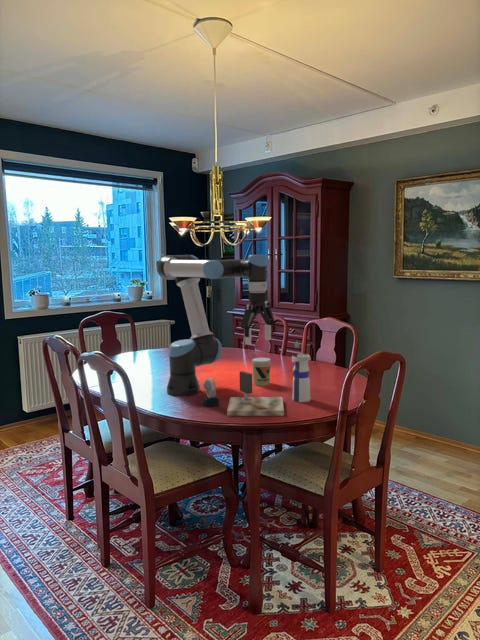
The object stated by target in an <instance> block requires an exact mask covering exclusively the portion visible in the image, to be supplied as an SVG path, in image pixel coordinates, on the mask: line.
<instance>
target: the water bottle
mask: <svg viewBox="0 0 480 640" xmlns="http://www.w3.org/2000/svg"><path fill="white" fill-rule="evenodd" d="M293 345H294V346H295V347H294V349H297V348H300V345H301V342H298V340H296V342H295V343H293ZM311 360H312V358H311V355H309V354H306V353H297V356H294V355H292V356H291V363H294V366H293V368H292V376H293V379H292V401H294V402H298V403H307V402H310V401H311V385H310V384H311V383H310V382H311V381H310V376H309V374H310V373H309V371H310V367H309V361H311Z"/></svg>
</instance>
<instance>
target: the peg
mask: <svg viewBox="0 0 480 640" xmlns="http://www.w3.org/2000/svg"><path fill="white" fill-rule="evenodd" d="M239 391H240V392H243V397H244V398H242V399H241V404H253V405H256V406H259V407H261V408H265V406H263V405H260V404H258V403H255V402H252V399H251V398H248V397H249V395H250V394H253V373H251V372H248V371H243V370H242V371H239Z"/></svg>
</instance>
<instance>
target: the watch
mask: <svg viewBox="0 0 480 640" xmlns="http://www.w3.org/2000/svg"><path fill="white" fill-rule="evenodd" d="M202 386H203V388H204V390H205V394H206V396H203V398H202V402H203V406H205V408H209V407H217V406H220V398H219V396H217V389H216V381H215V379H214V378H207V379H205V380H204V381H203V383H202Z"/></svg>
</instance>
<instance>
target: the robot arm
mask: <svg viewBox="0 0 480 640" xmlns="http://www.w3.org/2000/svg"><path fill="white" fill-rule="evenodd" d="M267 267H268V264H267V255H265V254H250V255H248V257H247V259H238V258H237V259H236V258H235V259H200V258H198V257H197V256H195V255H193V254H177V255H176V254H175V255H173V254H172V255H164V256H162V257H161V258H159V260H158V261H157V263H156V271H157V274H158V275H159V276H160V277H161V278H162V279H164V280H168V281H170V280H172V281H173V280H175V284H176V286H177V287H179V288H180V291H181V295H182V300H183V302H184V308H185V311H186V315H187V320H188V324H189V327H190V328H189V329H190V332H191V337H190V338H189V339H185V338H184V339H178V340H176V341H173V342H172V343H170V345H169V350H168V355H169V378H168V383H167V386H166V392H167V394H168V395H170V396H177V397H178V396H179V397H180V396H181V397H183V396H184V397H185V396H191V395H195V394H198V393H199V392H200V391H201V386H200V383H199V380H198V378H197V374H196V372H197V371H196V368H197V367H200V366H204V365H211V364H212V363H216V362H218V361H219V359H220V358H221V356H222V354H223V346H222V343H221V341H220V340H219V339H218V338H216V337H215V335H214V333H213V332H212V331H210V328H209V325H208V319H207V316H206V312H205V307H204V303H203V300H202V294H201V292H200V287H199V282H200V281H201V278H203V279H209V280H217V279H218V280H219V279H226V278H227V279H230V278H231V279H232V278H248V291H249V293H248V301H249V302H250V304H245V306H244V307H245V309H244V313H243V317H242V320H241V322H240V323H241V324H240V328H241V329H243V330H244V331H243V332H244V333H243V334H244V335H243V336H244V345H247V346H252V329H251V326H252V324H253V323H254V320H255V319H256V318H255V317H257V316H258V315H260V316H261V318H262V319H263V321H264V322H265V324H264V340H266V341H271V340H272V326H273V325H274V323H275V318H274V315H273V312H272V309H271V308H272V307H271V302H269V301H268V295H267V294H268V293H267V292H266V291H267V289H268V287H267V281H268V279H267V272H268V271H267Z"/></svg>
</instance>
